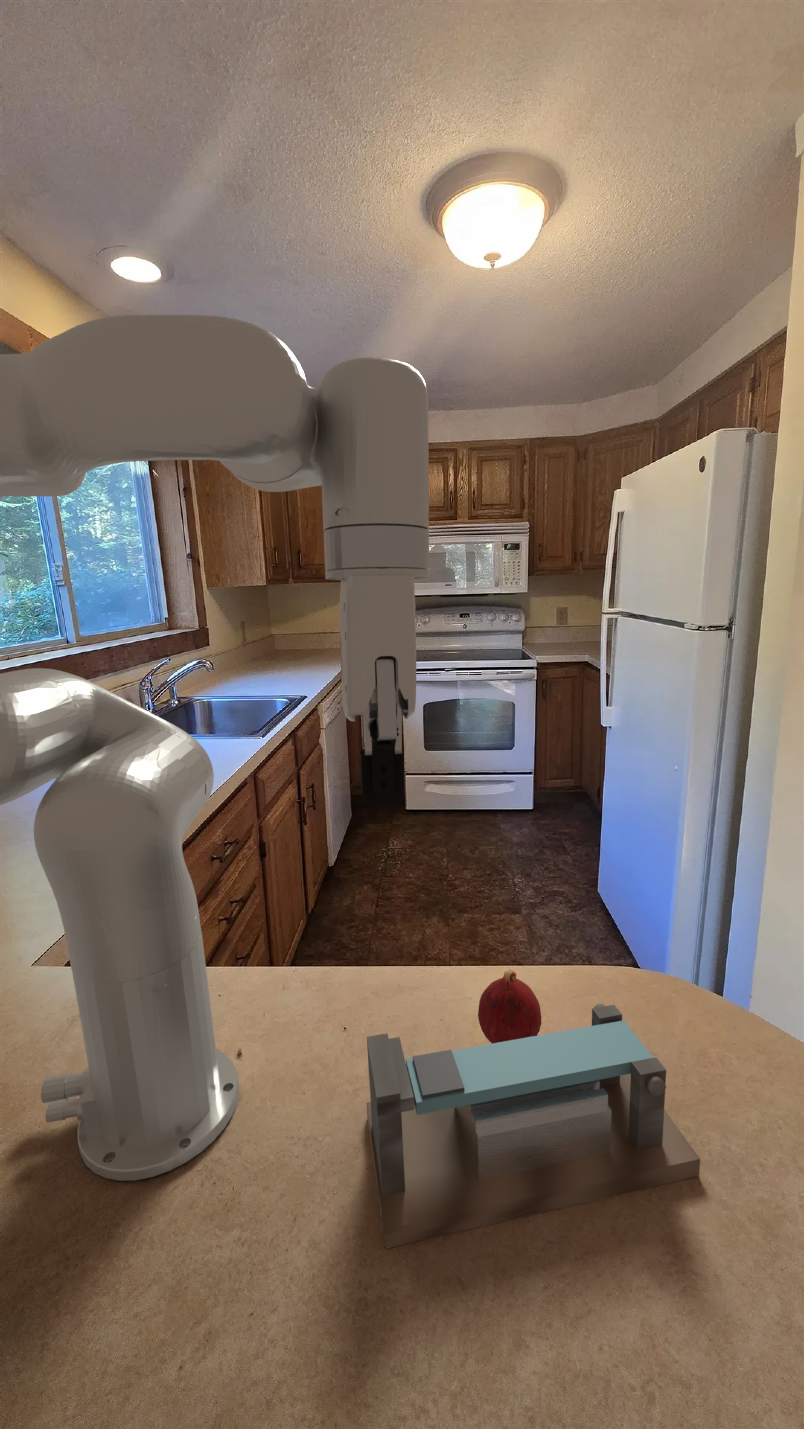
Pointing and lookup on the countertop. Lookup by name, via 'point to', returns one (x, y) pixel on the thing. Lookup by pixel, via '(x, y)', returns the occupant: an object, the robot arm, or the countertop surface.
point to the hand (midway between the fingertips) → (382, 800)
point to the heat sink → (537, 1129)
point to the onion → (509, 1010)
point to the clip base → (449, 1197)
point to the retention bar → (522, 1066)
